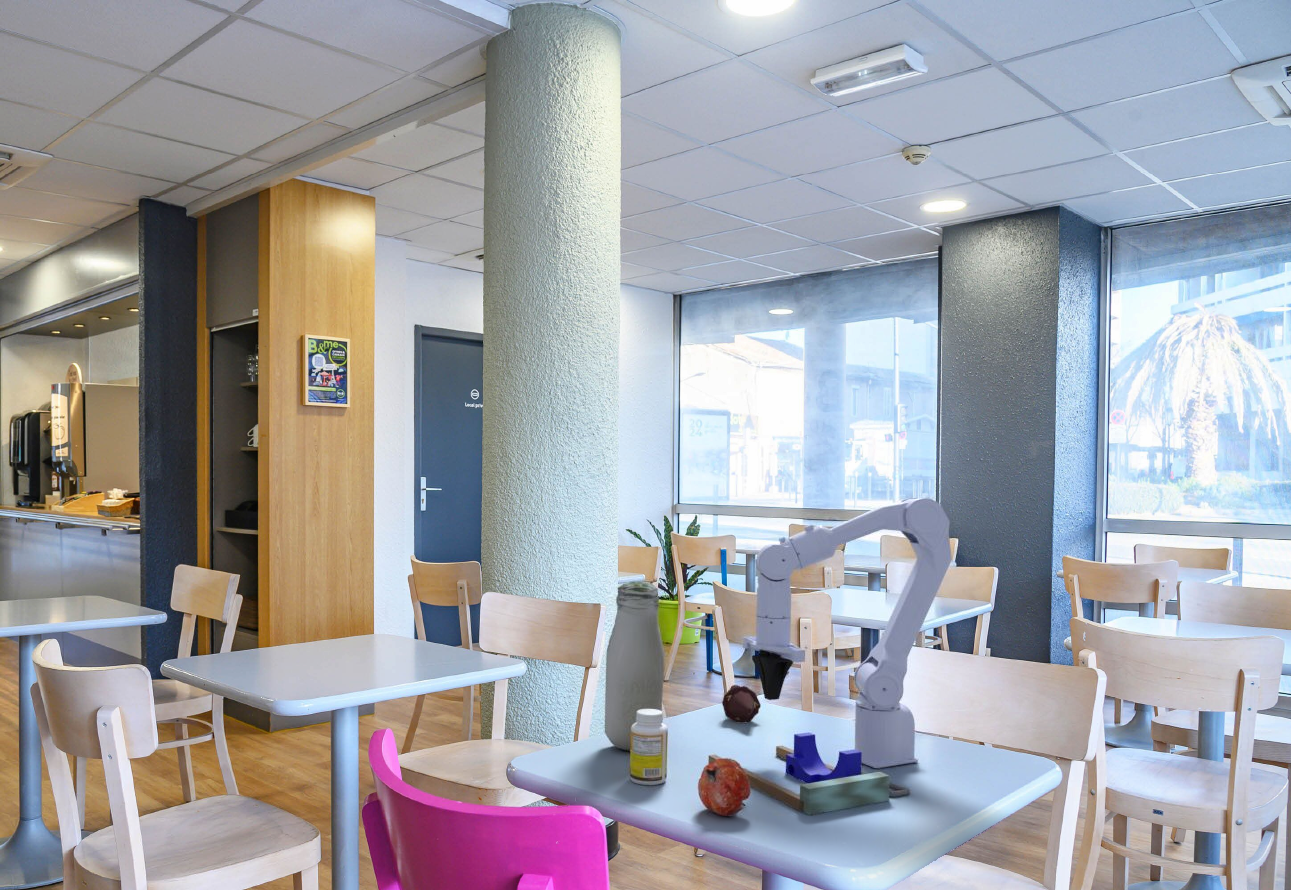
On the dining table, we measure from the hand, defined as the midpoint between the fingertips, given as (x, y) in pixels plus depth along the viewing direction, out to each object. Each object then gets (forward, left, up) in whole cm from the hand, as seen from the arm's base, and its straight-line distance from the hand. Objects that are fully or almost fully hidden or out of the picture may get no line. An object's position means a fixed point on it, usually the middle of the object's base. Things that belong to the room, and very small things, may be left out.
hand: (771, 698), depth 153 cm
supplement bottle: (+25, +3, -10) cm, 27 cm away
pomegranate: (+22, +19, -10) cm, 31 cm away
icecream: (-9, -21, -10) cm, 25 cm away
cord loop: (-5, +18, -9) cm, 21 cm away
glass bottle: (+19, -13, -10) cm, 25 cm away
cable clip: (+1, +15, -10) cm, 18 cm away
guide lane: (+5, +12, -9) cm, 16 cm away
